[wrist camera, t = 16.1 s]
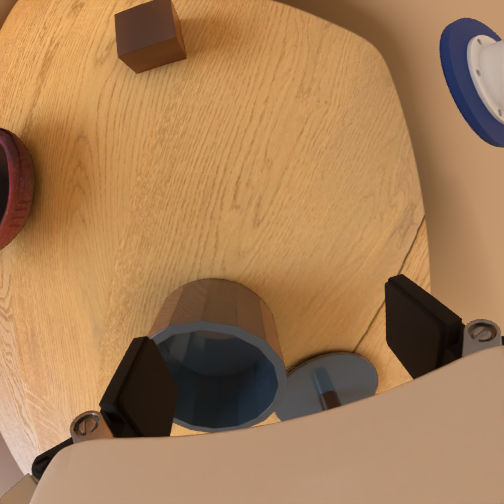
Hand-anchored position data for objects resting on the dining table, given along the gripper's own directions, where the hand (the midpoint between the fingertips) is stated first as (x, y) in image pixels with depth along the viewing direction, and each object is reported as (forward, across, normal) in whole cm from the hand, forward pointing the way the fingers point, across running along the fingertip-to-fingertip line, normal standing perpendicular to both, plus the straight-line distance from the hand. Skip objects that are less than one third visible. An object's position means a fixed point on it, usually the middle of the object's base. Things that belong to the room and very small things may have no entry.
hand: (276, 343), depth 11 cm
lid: (+16, -4, +21) cm, 27 cm away
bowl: (+17, +26, -12) cm, 33 cm away
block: (+17, +4, -21) cm, 27 cm away
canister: (+17, +6, +9) cm, 20 cm away
